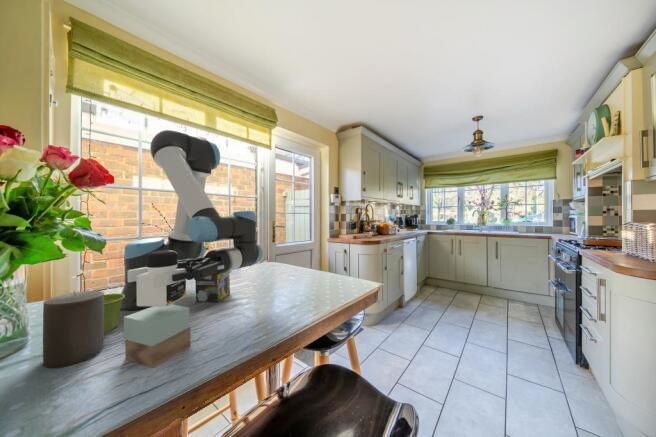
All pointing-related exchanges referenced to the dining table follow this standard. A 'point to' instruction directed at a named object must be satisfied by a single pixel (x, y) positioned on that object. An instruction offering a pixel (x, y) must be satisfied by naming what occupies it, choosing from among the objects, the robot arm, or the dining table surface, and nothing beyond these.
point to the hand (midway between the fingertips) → (141, 278)
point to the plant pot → (112, 310)
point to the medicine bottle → (165, 294)
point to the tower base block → (157, 349)
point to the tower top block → (156, 324)
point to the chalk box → (213, 288)
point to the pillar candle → (72, 328)
